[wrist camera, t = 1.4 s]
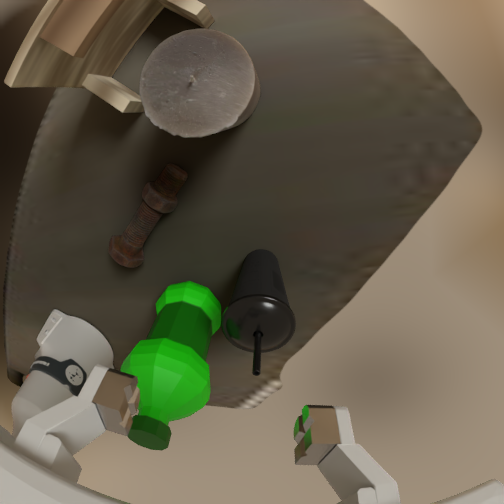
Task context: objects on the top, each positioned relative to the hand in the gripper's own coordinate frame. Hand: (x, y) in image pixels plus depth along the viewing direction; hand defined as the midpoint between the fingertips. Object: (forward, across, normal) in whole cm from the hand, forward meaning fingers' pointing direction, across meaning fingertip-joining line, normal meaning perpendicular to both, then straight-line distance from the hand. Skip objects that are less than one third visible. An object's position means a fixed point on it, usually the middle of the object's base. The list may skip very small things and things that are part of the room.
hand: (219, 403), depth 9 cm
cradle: (+31, +16, -17) cm, 39 cm away
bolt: (+32, +13, +6) cm, 35 cm away
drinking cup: (+31, -3, +11) cm, 33 cm away
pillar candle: (+31, +6, -11) cm, 34 cm away
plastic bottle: (+31, +6, +19) cm, 37 cm away
